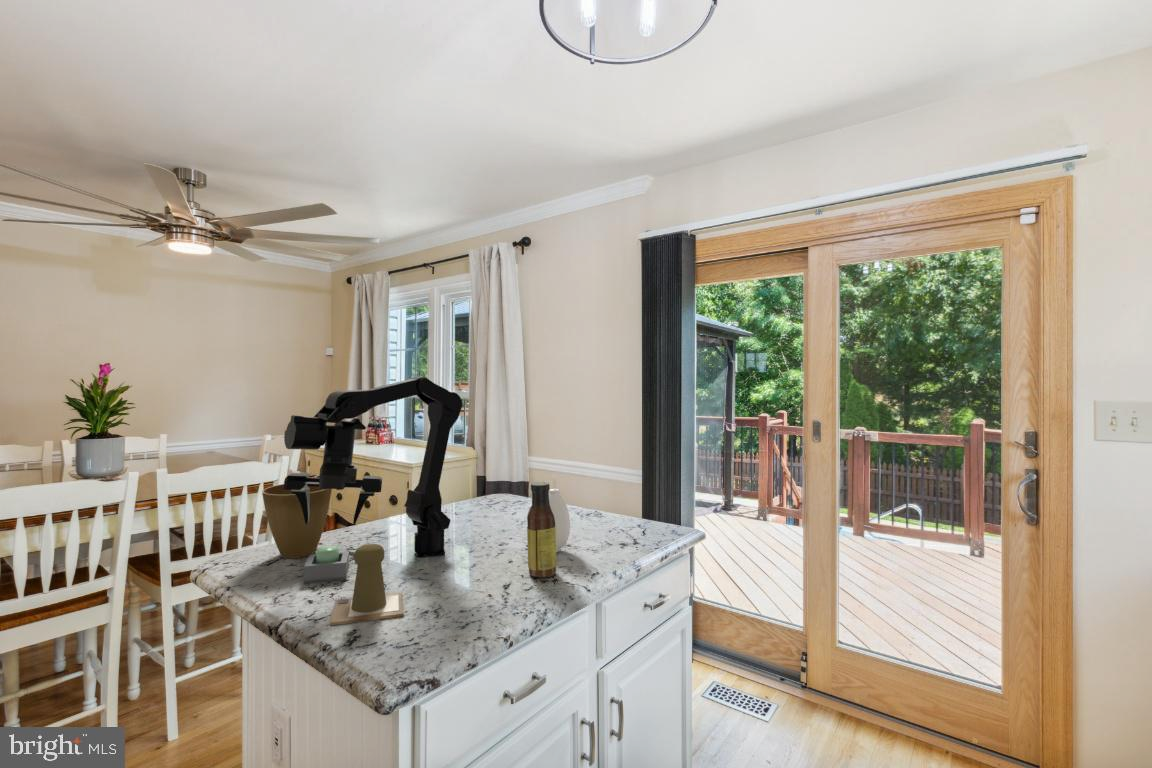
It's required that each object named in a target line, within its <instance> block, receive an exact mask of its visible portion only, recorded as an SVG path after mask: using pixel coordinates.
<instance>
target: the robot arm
mask: <svg viewBox="0 0 1152 768" xmlns="http://www.w3.org/2000/svg"><path fill="white" fill-rule="evenodd" d="M413 396H416V397H417V398H418V399H419V400H420V401H421V402H423V403H424V404H426V405H427V417H428V421H429V433H428V436H427V442H426V447H425V450H424V455H423V461H422V466H421V470H420V471H421V472H420V475H419V481H418V483H417V485H416V487H414V489H413V490H411V489H408V490H407V494H406V500H405V504H404V505H403V507H405V513H406V516H407V517H408V518H409V519H410V520H411V522H412V525H413V526H416V532H414V538H413V540H414V543H413V544H414V553H415V554H416V557H417V558H421V557H431V556H441V555H442V556H444V555H445V554H446V550H445V530H448V529H449V528H450V523H451V519H450V518H449V517H448V516H447V515H446V514H445V513H444V512H443V511H442V506H443V505H442V504H443V500H442V494H441V492H440V484H441V483H440V482H441V477H442V472H443V468H444V467H443V466H444V463H445V458H446V453H447V447H448V442H449V437H450V433H451V430H452V428H453V426H454V425H455V424H456V422H457V421H458V419H459V416H460V414H461V411H462V409H463V399H462V398H461V396H460V395H459V394H458V393H456V392H453V391H452V392H451V391H450V390H448V389H446V388H445V387H442V386H441V385H438V384H437V383H434V382H433V381H432V380H430V379H429V378H428V377H425V376H413V377H411V378H409V379H405V380H400V381H396V382H392V383H389V384H388V383H387V384H386V385H381V386H377V387H372V388H368V389H353V390H352V389H351V390H336V391H333V392H331V393H329V395H328V396H327V398H326V400H325V404H324V405H323V406H322V407H321V409H319V410H318V411H317V412H316V413H315V415H314V416H303V415H291V416H290V421H289V422H288V424H287V426H286V430H284V434H283V435H284V440H283V441H284V445H285V448H286V449H287V450H319V449H320V448H321V446H324V447H323V448H324V449H323V456H322V464H321V466H320V469H319V475H318V477H310V473H307V472H306V473H305V472H304V473H302V472H301V473H300V472H290V474H288V475H287V476H286V477H285V478H284V480H283V484H284V488H283V489H285V490H291V491H290V493H291V494H295V495H296V496H297V498H298V499H299V502H300V504H301V507H302V511H303V515H304V519H305V523H306V524H308V522H309V513H310V488H307V487H308V486H318V487H319V488H320V489H324V490H326V489H332V490H337V491H342V490H344V489H345V488H348V489H349V488H350V489H351V488H355V489H360V492H359V494H358V499H357V503H356V506H355V512H354V515H353V520H352V522H353V523H352V525H356V524H357V521H358V519H359V517H360V514H361V512H362V509H363V507H364V505H365V504H366V502H367V500H368V498H370V497H375V493H382V487H383V478H382V477H381V476H379V475H378V476H377V475H363V477H362V479H361V478H357V473H358V465H354V464H353V456H354V447H355V439H356V438H355V437H356V430H358V431H359V430H362V431H363V430H366V428H367V426H365V425H364V423H362V422H361V420H360V418H359V417H360V415H363V414H366V413H367V412H369V411H370V410H372V408H373V409H374V408H375V407H377V406H380V405H384V404H387V403H388V404H389V403H391V402H392V403H393V402H395V401H398V400H402V399H405V398H410V397H413ZM356 417H357V418H356ZM346 419H348V420H346ZM350 419H351V420H350ZM349 420H350V421H349ZM327 423H330V424H327ZM331 423H332V424H331Z"/></svg>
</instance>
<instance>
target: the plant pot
mask: <svg viewBox="0 0 1152 768" xmlns="http://www.w3.org/2000/svg"><path fill="white" fill-rule="evenodd" d="M283 488H284V483H282V484H277V485H271V486H269V487H266V488H264V489H263V490H261V494H262V500H263V506H264V511H265V515H266V519H267V523H268V526H269V528H270V529H269V530H270V533H271V535H272V537H273V540H274V543H275V546H276V548H277V550H278V552H279V554H280V556H281V557H282V558H283V559H299V558H304V557H309V555H310V554H315V552H316V550H317V549H318V546H319V544H320V540H321V538H322V534H323V532H324V528H325V524H326V521H327V516H328V513H329V508H330V504H331V503H330V502H331V496H332V491H333V489H326V490H324V489H320V488H319V487H318V486H308V487H307V488H310V513H309V522H308V524H306V523H305V519H304V515H303V511H302V507H301V504H300V502H299V499H298V498H297V496H296V495H295V494H291V493H290V491H291V490H285V489H283Z"/></svg>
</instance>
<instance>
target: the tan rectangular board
mask: <svg viewBox="0 0 1152 768" xmlns="http://www.w3.org/2000/svg"><path fill="white" fill-rule="evenodd" d="M385 596H386V605H385V607H383V608H382V609H379V610H377V611H373V612H355V611H353V610H352V609H351V607H352V600H353V597H348V598H342V599H341V598H340V599H335V600H334V605H333V608H332V609H333V610H332V613H331V617H330V621H329V626H338V625H343V624H345V625H346V624H352V623H353V624H354V623H362V622H368V621H376V620H385V619H391V618H392V619H393V618H401V617H404V615H405V614H404V612H405V611H404V593H403V592H402V591H401V592H395V593H385Z"/></svg>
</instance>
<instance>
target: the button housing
mask: <svg viewBox="0 0 1152 768" xmlns="http://www.w3.org/2000/svg"><path fill="white" fill-rule="evenodd" d="M349 569H350V550H348V551H347V550H346V551H339V562H328V563H317V564H316V553H313V554H310V555H309V556H307V559H306V562H305V564H304V566H303V584H312V583H311V582H314V583H323V582H322V581H324V582H332V581H333V582H334V581H342V580H341V579H344V580H347V578H348V574H347V573H348V572H349Z"/></svg>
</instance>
